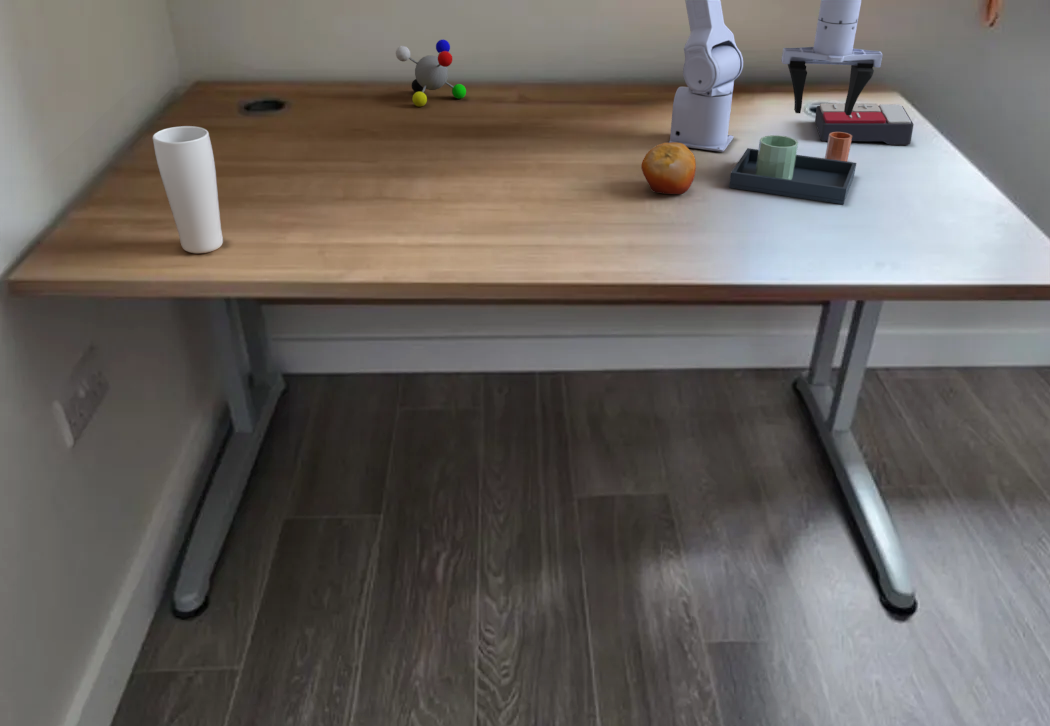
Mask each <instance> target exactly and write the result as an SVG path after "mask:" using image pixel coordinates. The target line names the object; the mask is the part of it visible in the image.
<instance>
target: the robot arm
mask: <svg viewBox="0 0 1050 726" xmlns="http://www.w3.org/2000/svg"><path fill="white" fill-rule="evenodd" d="M684 1H685V7H686V13H687V18H688V26H689V31H690V33H689V36H688V38H687V40H686V43H685V44H684V47H683V53H684V63H683V67H682V75H683V80H684V82H685V85H686V86H679V87H678V88H677V89H676V92H675V94H674V97H673V103H672V112H671V123H670V136H669V141H668V143H671V142H678V143H682V144H684V145H685V146H686V147H687V148H688V149H689V148H691V149H698V150H704V151H713V152H721V153H722V152H723V153H724V152H725V151H726V149H727V148H728V146H729V145H730V144H731V142H732V141H733V139H734V135H731V134H729V130H730V129H729V128H730V119H731V110H732V102H733V92H734V84H735V80H736V79H738V78H739V77H740V75H741V73H742V72H743V69H744V58H743V54H742V52H741V50H740V49H739V47H738V46H737V44H736V40H735V35H734V32H732V31H731V29H730V28H729V27H728V26H727V25H726V24H725V19H724V12H723V8H722V1H721V0H684ZM861 5H862V0H820V5H819V10H818V11H819V12H818V16H817V23H816V30H815V35H814V42H813V46H801V47H783V48H782V52H781V63H782V64H783V65H787V67H788V68H787V69H788V70H789V75H790V78H791V83H792V84H791V85H792V89H793V97H794V109H793V110H794V112H795V114H801V112H802V109H803V97H804V89H805V85H806V80H807V76H808V71H807V65H835V66H837V65H838V66H850V75H849V83H848V89H847V95H846V98H845V108H844V112H845V114H846V115H851V113H852V110H853V107H854V105H855V103H857V100H858V99H859V97H860V95H861V93H862V91H863V90H864V88H865V87H866V86H867V84H868V83H869V82H870V80H871V79H872V78H873V76H874V73H875V70H874V68H881V66H882V62H883V56H884V54H883V53H882V51H881V50H869V49H861V48H854V46H855V45H854V44H855V39H856V33H857V28H858V22H859V17H860V11H861Z"/></svg>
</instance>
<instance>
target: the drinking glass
mask: <svg viewBox="0 0 1050 726" xmlns="http://www.w3.org/2000/svg"><path fill="white" fill-rule="evenodd" d="M211 141H212V140H211V137H210V133H209V131H208V130H207V129H206V128H204V127H201V126H195V125H193V126H192V125H182V126H181V125H180V126H173V127H167V128H163V129H161V130H159V131H156V132H155V133H154V134H153V135H152V142H153V143H152V144H153V150H154V154H155V160H156V163H157V168H158V172H159V175H160V178H161V182H162V185H163V187H164V188H163V189H164V191H165V194H166V197H167V200H168V204H169V207H170V210H171V214H172V217H173V220H174V225H175V227H176V231H177V234H178V237H179V238H178V239H179V243H180V246H181V248H182V249H183V250H184V251H186V252H187V253H191V254H207V253H211V252H214V251H216V250H218V249H219V248H221V247H222V246H223V244H224V237H223V231H222V224H221V213H220V203H219V193H218V181H217V180H218V179H217V171H216V162H215V155H214V150H213V146H212V142H211Z"/></svg>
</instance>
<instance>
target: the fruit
mask: <svg viewBox="0 0 1050 726" xmlns="http://www.w3.org/2000/svg"><path fill="white" fill-rule="evenodd" d="M696 167H697V163H696V158H695V155H694V153H693V152H692V151H691V150H690V149H689V147H686V146H685V145H684V144H682V143H678V142H671V143H669V142H662V143H658V144H657V145H655V146H654V147H652V148H650V149H649V150H648V152H646V154H645V156H644V157H643V159H642V161H641V164H640V168H641V171H642V174H643V176H644V179H645V180H646V183H647V184H648V186H649V188H650V190H651V191H652V192H654V193H657V194H663V195H682V194H685V193H687V192H688V191H689V190H690V187H691V186H692V184H693V181H694V178H695V176H696V169H697V168H696Z"/></svg>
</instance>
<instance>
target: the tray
mask: <svg viewBox="0 0 1050 726" xmlns="http://www.w3.org/2000/svg"><path fill="white" fill-rule="evenodd" d="M757 157H758V149H756V148H748V147H747V148H746V150H745V151H744V152H743V154H742V155H741V157H740V158H739V160H738V161H737V163H736V164H735V166H734V168H733V169H732V170H731V172H730V175H729V186H728V188H729V189H737V190H743V191H750V192H755V193H764V194H770V195H776V196H784V197H791V198H797V199H803V200H811V201H818V202H823V203H830V204H837V205H844V204H845V202H846V199H847V196H848V194H849V191H850V188H851V186H852V183H853V180H854V178H855V173H856V167H857V165H858V164H857V162H854V161H853V162H852V161H839V160H832V159H825V157H815V156H808V155H802V154H801V155H800V154H797V155H796V161H795V167H794V174H793V178H792V179H791V180H789V179H781V178H774V177H767V176H760V175H755V174H756V164H757Z"/></svg>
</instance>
